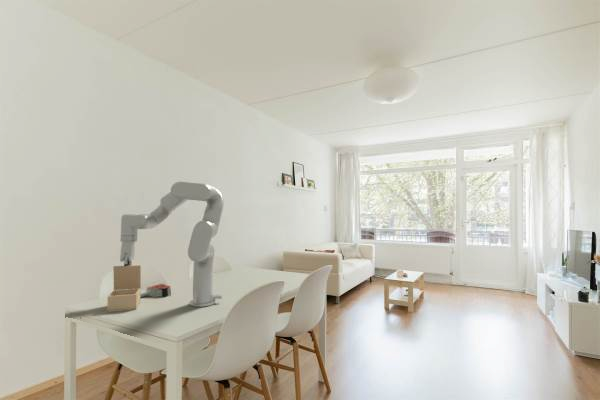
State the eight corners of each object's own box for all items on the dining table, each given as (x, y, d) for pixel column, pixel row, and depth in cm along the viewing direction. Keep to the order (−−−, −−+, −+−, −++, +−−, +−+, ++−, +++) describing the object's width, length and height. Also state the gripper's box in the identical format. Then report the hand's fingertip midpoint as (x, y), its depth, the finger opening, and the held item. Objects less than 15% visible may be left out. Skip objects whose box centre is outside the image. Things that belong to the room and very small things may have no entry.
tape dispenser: (127, 303, 168) (165, 300, 168) (126, 293, 167) (165, 290, 168) (142, 293, 185) (177, 290, 186) (141, 284, 185) (176, 281, 186)
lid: (140, 288, 163) (140, 287, 163) (140, 265, 161) (140, 265, 161) (113, 290, 159) (114, 289, 160) (113, 266, 157) (113, 266, 158)
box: (140, 302, 162) (140, 288, 162) (136, 309, 151) (136, 294, 151) (113, 304, 158) (113, 290, 159) (107, 311, 147) (107, 296, 147)
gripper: (123, 237, 169) (122, 272, 168) (117, 239, 154) (115, 278, 154) (139, 237, 171) (138, 271, 170) (134, 239, 157) (132, 277, 156)
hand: (127, 274), depth 162 cm, fingers closed
